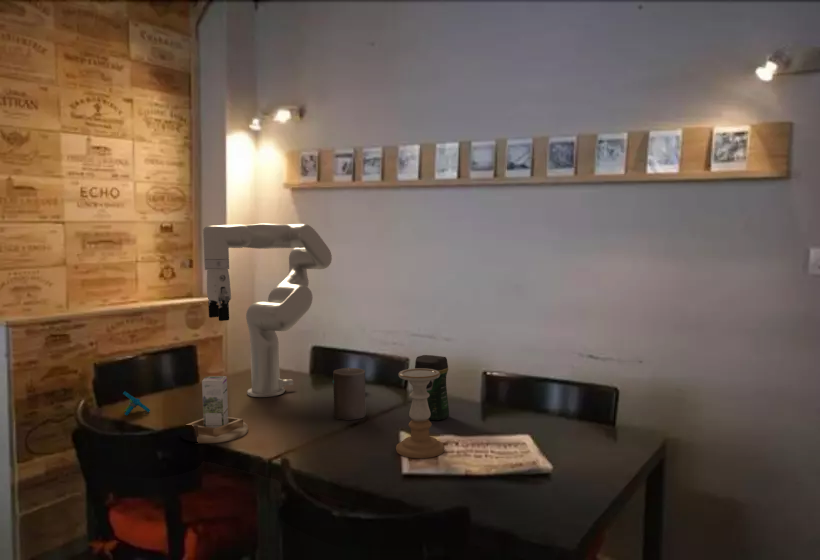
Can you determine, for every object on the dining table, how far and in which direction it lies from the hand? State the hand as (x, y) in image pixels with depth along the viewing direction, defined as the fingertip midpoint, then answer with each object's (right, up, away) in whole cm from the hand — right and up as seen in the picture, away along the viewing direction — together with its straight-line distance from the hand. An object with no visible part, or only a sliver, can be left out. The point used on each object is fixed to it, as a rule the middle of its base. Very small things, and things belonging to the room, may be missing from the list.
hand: (218, 318), depth 219 cm
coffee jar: (+67, -29, -13) cm, 74 cm away
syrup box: (+7, -29, -26) cm, 40 cm away
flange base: (+6, -30, -26) cm, 41 cm away
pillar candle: (+43, -29, -11) cm, 52 cm away
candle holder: (+63, -31, -44) cm, 83 cm away
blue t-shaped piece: (-24, -29, -4) cm, 38 cm away
